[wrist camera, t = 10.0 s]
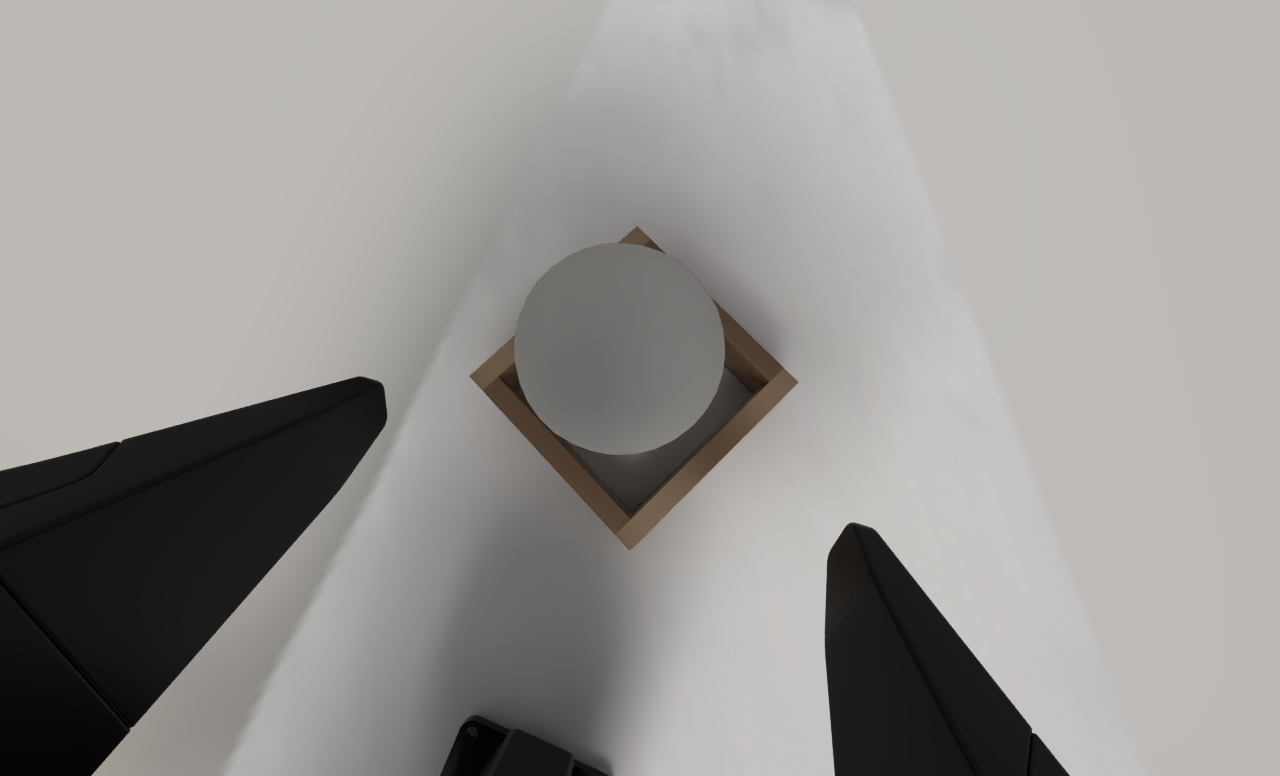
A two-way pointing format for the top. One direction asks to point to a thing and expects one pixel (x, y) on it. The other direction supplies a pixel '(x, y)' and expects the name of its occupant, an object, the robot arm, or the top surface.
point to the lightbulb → (619, 349)
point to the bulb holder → (631, 527)
